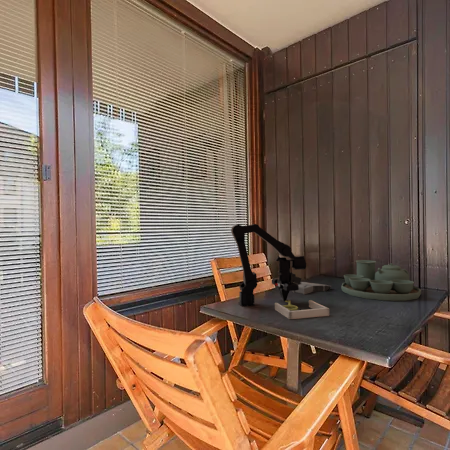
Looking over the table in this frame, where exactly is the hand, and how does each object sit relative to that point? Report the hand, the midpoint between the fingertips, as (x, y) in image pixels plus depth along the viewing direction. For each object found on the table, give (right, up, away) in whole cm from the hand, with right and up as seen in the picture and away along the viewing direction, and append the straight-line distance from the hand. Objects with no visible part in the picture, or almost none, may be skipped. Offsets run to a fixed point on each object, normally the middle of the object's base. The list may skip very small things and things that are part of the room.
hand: (284, 301), depth 152 cm
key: (+1, -1, -7) cm, 8 cm away
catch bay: (+4, -1, -16) cm, 16 cm away
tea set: (+57, -1, +21) cm, 61 cm away
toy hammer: (+15, -1, +34) cm, 38 cm away
